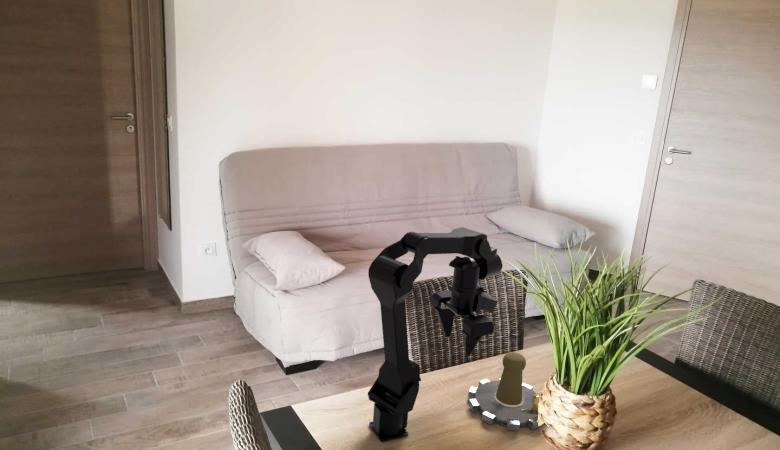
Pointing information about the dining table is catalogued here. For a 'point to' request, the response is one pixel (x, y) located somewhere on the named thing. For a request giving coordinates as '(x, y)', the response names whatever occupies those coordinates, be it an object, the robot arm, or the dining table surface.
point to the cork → (511, 379)
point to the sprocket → (504, 406)
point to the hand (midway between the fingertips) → (457, 345)
